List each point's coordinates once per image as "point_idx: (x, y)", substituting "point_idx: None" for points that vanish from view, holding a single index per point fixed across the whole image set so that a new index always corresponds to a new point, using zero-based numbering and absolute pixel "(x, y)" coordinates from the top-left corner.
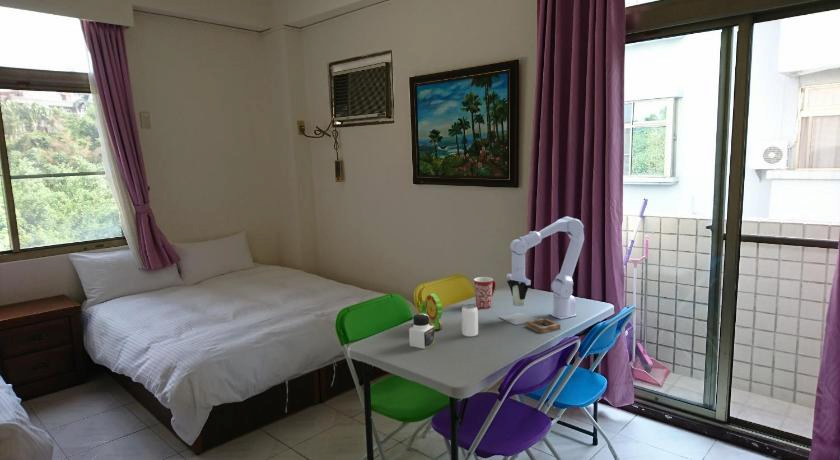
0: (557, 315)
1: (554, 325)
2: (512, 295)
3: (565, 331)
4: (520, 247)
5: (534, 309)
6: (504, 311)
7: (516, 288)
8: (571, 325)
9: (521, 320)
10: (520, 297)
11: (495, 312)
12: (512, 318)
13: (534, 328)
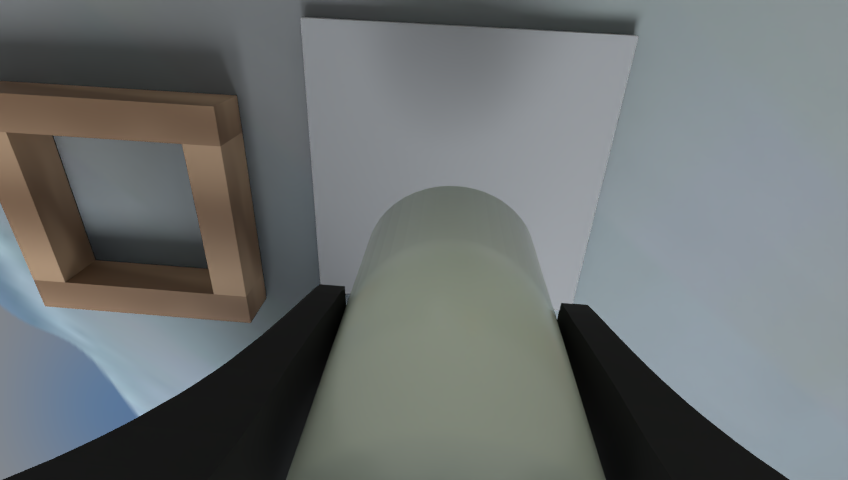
0: None
1: (26, 252)
2: (582, 311)
3: (16, 275)
4: None
5: None
6: (738, 226)
7: (353, 433)
8: (130, 381)
9: (376, 159)
10: (305, 301)
11: (805, 127)
12: (483, 124)
13: (83, 90)
